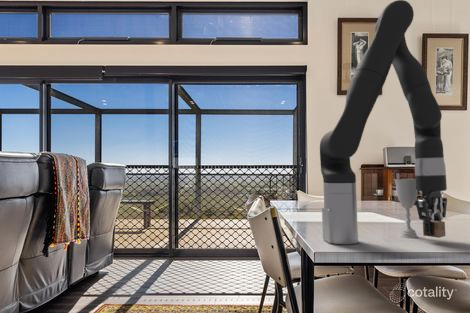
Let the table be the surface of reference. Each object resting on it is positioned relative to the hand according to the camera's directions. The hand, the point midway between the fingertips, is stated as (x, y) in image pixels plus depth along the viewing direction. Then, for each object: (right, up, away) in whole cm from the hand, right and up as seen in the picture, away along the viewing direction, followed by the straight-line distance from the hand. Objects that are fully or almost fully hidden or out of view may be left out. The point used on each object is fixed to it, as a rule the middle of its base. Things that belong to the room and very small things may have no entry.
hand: (433, 234), depth 88 cm
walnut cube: (0, 0, 0) cm, 0 cm away
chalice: (-2, -3, +9) cm, 10 cm away
